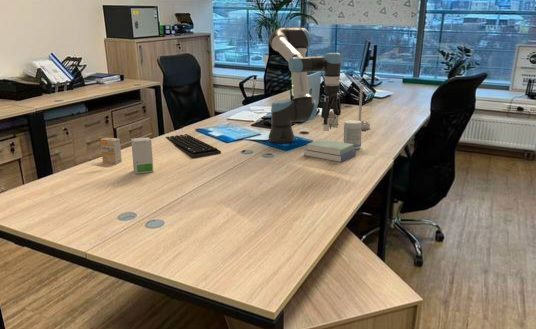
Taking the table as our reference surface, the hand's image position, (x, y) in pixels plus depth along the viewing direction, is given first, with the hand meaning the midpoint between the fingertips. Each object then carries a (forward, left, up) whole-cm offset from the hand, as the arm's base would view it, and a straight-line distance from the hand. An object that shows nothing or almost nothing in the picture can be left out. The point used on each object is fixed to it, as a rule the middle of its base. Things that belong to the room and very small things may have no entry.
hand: (330, 129), depth 229 cm
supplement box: (-79, -77, -14) cm, 111 cm away
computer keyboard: (-71, -32, -15) cm, 79 cm away
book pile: (0, 0, -14) cm, 14 cm away
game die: (0, 0, 0) cm, 0 cm away
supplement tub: (+2, +21, -14) cm, 26 cm away
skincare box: (-57, -75, -14) cm, 95 cm away
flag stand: (-14, +63, -14) cm, 66 cm away
